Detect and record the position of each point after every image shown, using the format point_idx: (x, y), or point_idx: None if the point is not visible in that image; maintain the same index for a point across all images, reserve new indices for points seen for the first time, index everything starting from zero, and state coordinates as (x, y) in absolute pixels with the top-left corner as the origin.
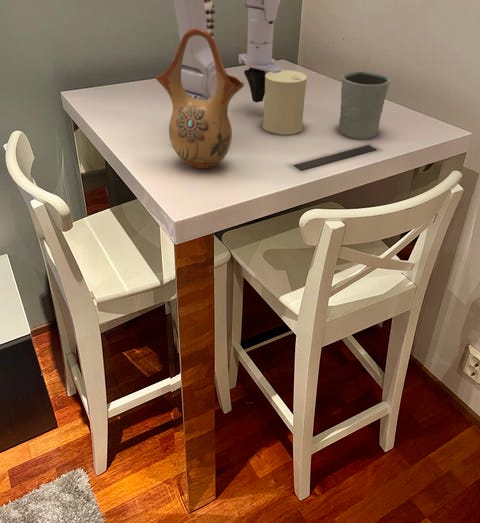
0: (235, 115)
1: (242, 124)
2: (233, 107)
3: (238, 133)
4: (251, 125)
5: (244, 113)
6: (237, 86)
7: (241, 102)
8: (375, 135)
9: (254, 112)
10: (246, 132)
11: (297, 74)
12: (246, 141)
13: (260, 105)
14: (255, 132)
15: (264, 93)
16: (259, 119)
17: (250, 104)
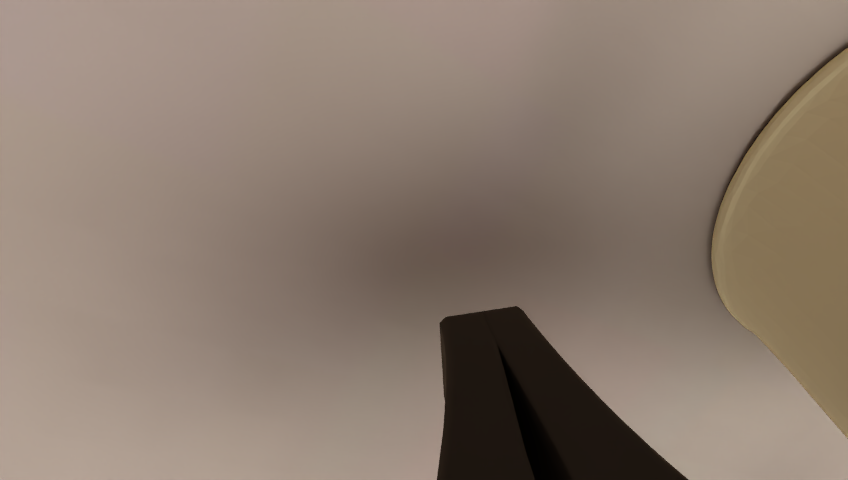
0: (413, 424)
1: None
2: (193, 392)
3: (721, 477)
4: (674, 384)
5: (401, 355)
6: None
7: (24, 283)
8: None
9: (418, 269)
10: (746, 440)
11: None
12: (843, 468)
13: (202, 111)
14: (792, 397)
15: (578, 380)
16: (611, 293)
17: (128, 214)
